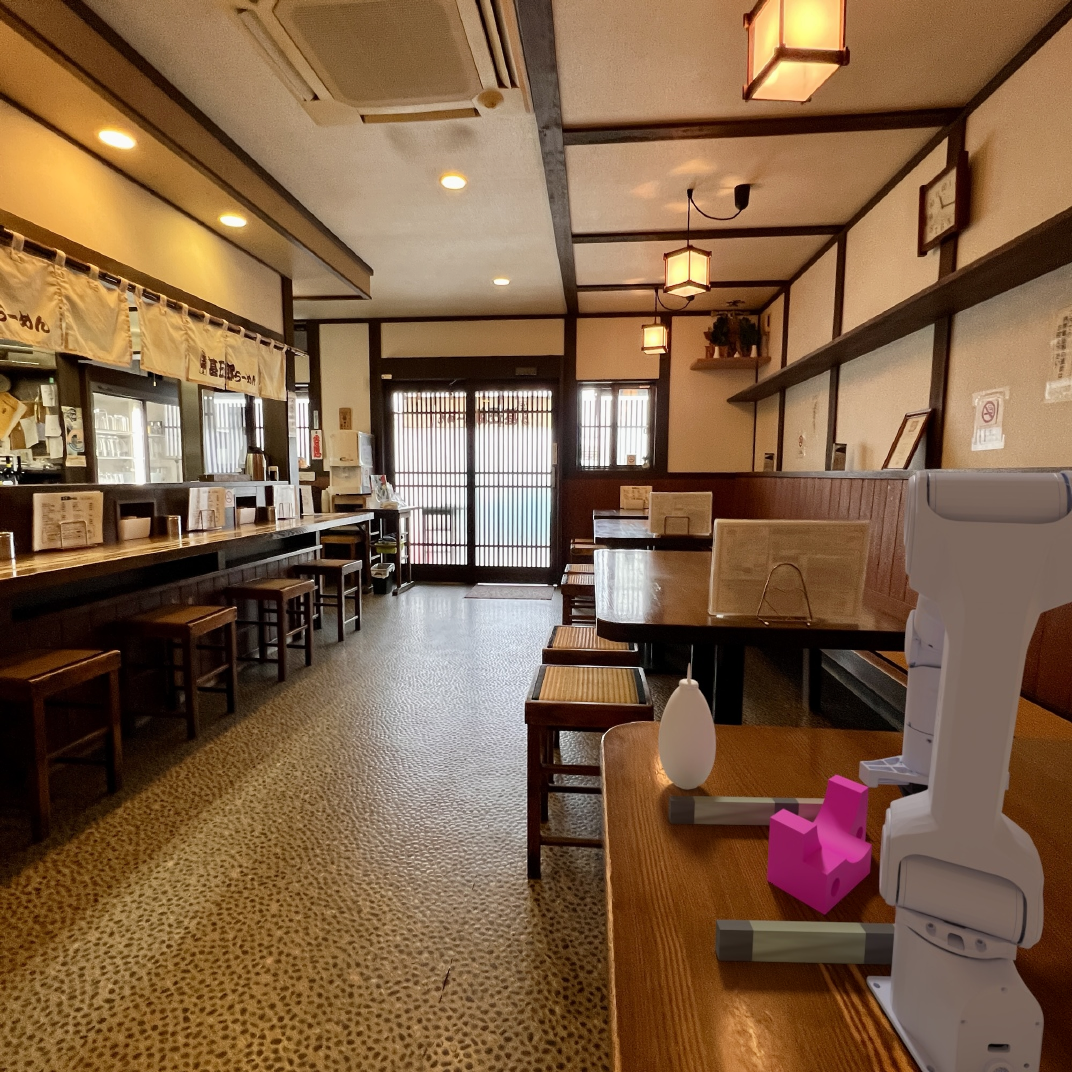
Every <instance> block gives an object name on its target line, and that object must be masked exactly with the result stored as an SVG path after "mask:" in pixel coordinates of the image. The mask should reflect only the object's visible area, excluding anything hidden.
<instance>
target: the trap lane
mask: <svg viewBox="0 0 1072 1072" xmlns="http://www.w3.org/2000/svg"><path fill="white" fill-rule="evenodd" d="M824 799H825V798H819V797H818V798H816V797H815V798H814V797H813V798H812V797H811V798H810V797H807V798H806V797H759V796H757V797H754V796H753V797H751V796H750V797H749V796H711V795H710V796H704V795H703V796H702V795H699V796H698V795H669V796H668V816H667V817H668V821H669V824H674V825H675V824H680V825H681V824H683V825H684V824H685V825H687V824H688V825H690V824H691V825H732V826H733V825H734V826H736V825H738V826H743V825H744V826H770V817H771V816H773V815H774V814H776V813H778V812H779V811H781V810H782V809H785V810H787V811H789V812H791V813H793V814H795V815H797V816H800V817H802V818H804V819H806V820H808V821H810V822H812V823H813V822H814V820H815V819H816V817H817V815H818V814H819V812H820V809H821V807H822V804H823V802H824ZM894 930H895V923H886V922H885V923H881V922H879V923H878V922H841V921H840V922H837V921H834V922H833V921H800V920H799V921H795V920H794V921H791V920H752V919H749V920H748V919H745V920H744V919H716V920H715V939H714V940H715V943H714V950H715V953H716V956H717V959H718V961H726V962H727V961H729V962H730V961H731V962H732V961H734V962H768V963H769V962H772V963H774V962H775V963H808V964H809V963H813V964H814V963H815V964H853V965H857V964H858V965H859V964H862V965H891V966H892V958H893V944H894Z"/></svg>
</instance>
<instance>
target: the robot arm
mask: <svg viewBox="0 0 1072 1072" xmlns="http://www.w3.org/2000/svg"><path fill="white" fill-rule="evenodd" d="M906 487H907V488H906V496H905V506H904V507H905V508H904V519H903V521H904V523H903V524H904V525H903V545H904V546H903V547H904V548H905V565H904V566H905V568H904V569H905V574H906V575H907V576H909V577H908V578H909V579H908V580H909V582H908V583H909V585H908V586H909V588H910V589H911V590H913V591H915V592H916V593H918V597H917V601H916V602H917V603H916V608H915V609H912V610H910V611H909V615H908V617H907V620H906V624H905V625H906V626H905V636H904V637H905V638H904V657H905V661H906V665H907V666H908V671H907V687H906V698H905V700H906V701H905V712H904V713H905V714H904V725H903V726H904V727H903V739H902V741H903V742H902V752H901V753H902V755H896V756H891V757H885V758H882V759H881V758H880V759H874V760H860V761H859V771H858V778H859V779H860V780H861V782H863V784H865V786H866V787H869V788H878V787H879V785H894V786H897V787H898V790H899V791H900V792H899V793H900V794H901V796H902V797H900V798H898V799H894V800H892V801H891V802H890V804H889V805H890V806H889V807H888V808H886V810H885V822H884V824H882V830H881V843H880V858H879V859H880V860H879V895H880V896H881V897H882V898H883V899H884V901H885V903H886V905H888V906H891V907H895V917H894V920H895V921H894V924H895V930H894V944H893V958H892V965H891V972H890V976H886V975H885V976H883V975H879V976H878V975H868V976H867V977H866V984H867V986H868V987H869V989H870V991H871V992H872V993H873V995H874V997H875V998H876V1000H877V1002H878V1003H879V1004H880V1006H881V1009H882V1010H883V1012H884V1013H885V1014H886V1017H888V1019H889V1021H890V1022H891V1024H892V1026H893V1028H895V1031H896V1032H897V1033H898V1035H899V1036H900V1038H901V1040H902V1042H903V1043H904V1045H905V1046H906V1047H907V1049H908V1051H909V1052H910V1054H911V1056H912V1057H913V1058H914V1060H915V1062H916V1063H917V1066H918V1067H919V1068H920V1070H921V1071H922V1072H1040V1063H1041V1054H1042V1044H1043V1036H1044V1035H1043V1034H1044V1023H1045V1022H1044V1021H1045V1020H1044V1014H1043V1010H1042V1008H1041V1005H1040V1003H1039V1002H1038V1000H1037V998H1036V997H1035V996H1034V995H1033V993H1032V992H1031V991H1030V989H1029V987H1027V985H1026V984H1025V982H1024V980H1023V979H1022V977H1021V975H1020V974H1019V972H1018V970H1017V967H1016V965H1015V962H1014V961H1016V959H1017V951H1018V947H1020V948H1024V949H1026V950H1029V949H1031V948H1032V947H1033V946H1034V945H1036V944H1037V943H1039V941H1040V940H1041V938H1042V933H1043V928H1044V895H1043V892H1044V884H1045V876H1044V871H1043V870H1044V869H1043V866H1042V862H1041V857H1040V854H1039V851H1038V849H1037V847H1036V846H1035V843H1034V842H1033V839H1032V837H1031V836H1030V834H1029V833H1028V832H1026V830H1025V829H1023V828H1022V827H1020V826H1019V825H1018V824H1017V823H1016V822H1014V821H1013V820H1012V819H1010V818H1009V817H1008V816H1006V814H1004V813H1003V812H1002V811H1003V806H1004V799H1005V791H1009V785H1010V784H1009V783H1010V775H1011V773H1010V772H1009V767H1010V759H1011V754H1012V748H1013V741H1014V736H1015V735H1014V734H1015V729H1016V721H1017V715H1018V709H1019V708H1018V707H1019V701H1020V696H1021V689H1022V683H1023V677H1024V671H1025V664H1026V657H1027V652H1028V649H1029V645H1030V642H1031V639H1032V637H1033V634H1034V631H1035V628H1036V627H1037V623H1038V621H1039V618H1040V615H1041V614H1042V613H1044V612H1048V611H1050V610H1052V609H1056V608H1058V607H1060V606H1064V605H1066V604H1070V603H1072V470H1069V469H1068V470H1065V469H1063V470H1060V471H1059V472H928V473H927V471H926V470H916V471H915V474H913V475H911V476H910V477H909V478H908V480H907V486H906Z"/></svg>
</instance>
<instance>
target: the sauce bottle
mask: <svg viewBox="0 0 1072 1072" xmlns="http://www.w3.org/2000/svg"><path fill="white" fill-rule="evenodd" d="M691 668H692V667H691V663H690V662H689V663H688V666H687V675H686V677H687V678H683V679H680V680H679V681H678V685H679V686H678V687H677V688H676V689H675V690H674V691H673V692H672V694H671V695H670V697H669V699H668V701H667V702H666V706H665V708H664V710H663V713H662V716H661V720H660V724H659V730H658V739H657V740H658V743H657V745H658V754H659V755H658V756H659V760H660V763H661V767H662V769H663V771H664V773H665V775H666V777H667V778H668V779H669V781H671V782H672V783H673V785H674V786H676V787H677V788H680V789H682V790H692V789H696V788H698V786H701V785H703V784H704V783H705V782H706V780H707V779H708V777H709V776H710V774H711V771H712V770H713V767H714V763H715V758H716V751H717V750H716V748H717V739H716V738H717V737H716V729H715V723H714V719H713V716H712V713H711V710H710V707H709V704H708V702H707V699H706V697H705V696H704V694H703V693H702V691H701V690H700V689H699V683H698V681H696V680H695V679H691V678H692V677H691V675H692V670H691Z"/></svg>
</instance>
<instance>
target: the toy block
mask: <svg viewBox="0 0 1072 1072" xmlns="http://www.w3.org/2000/svg"><path fill="white" fill-rule="evenodd" d="M869 788H870V787H868V786H867V785H863V784H861V783H859V782H856V781H853V780H851V779H849V778H846V777H843V776H841V775H839V774H835V775H833V776H832V777H830V778H828V780H827V787H826V791H825V794H824V798H823V799H824V802H823V804H822V807H821V809H820V812H819V814H818V815H817V817H816V819H815V820H814V822H813V823H812V822H810V821H808V820H806V819H804V818H802V817H800V816H797V815H795V814H793V813H791V812H789V811H787V810H785V809H782V810H781V811H779V812H778V813H776V814H774V815H773V816H771V817H770V825H769V832H768V833H769V834H768V853H767V854H768V855H767V873H766V881H767V882H769V883H770V882H771V883H770V884H772V883H773V884H772V885H774V886H776V887H777V888H778V889H781V890H782V891H784V892H786V893H787V894H788V895H791V896H792V897H793V898H795V899H797V900H799V901H800V902H803V903H804V904H806V905H807V906H809V907H811V908H813V909H814V910H816V911H817V912H819V913H821V914H822V915H827V913H828V912H830V911H831V909H832V908H834V907H835V906H836V905H837V904H838V903H839V902H840V901H841V900H843V898H845V896H847V895H848V894H849V893H850V892H851V891H853V889H854V888H855V887H856V886H858V884H859V883H860V882H862V881H863V880H864V879H865V878H866V877H867V876H868V875H869V874H870V873H871V863H872V862H871V861H872V848H873V845H872V843H869V842H867V841H866V832H867V817H868V806H869V805H868V803H869V802H868V801H869Z"/></svg>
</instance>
